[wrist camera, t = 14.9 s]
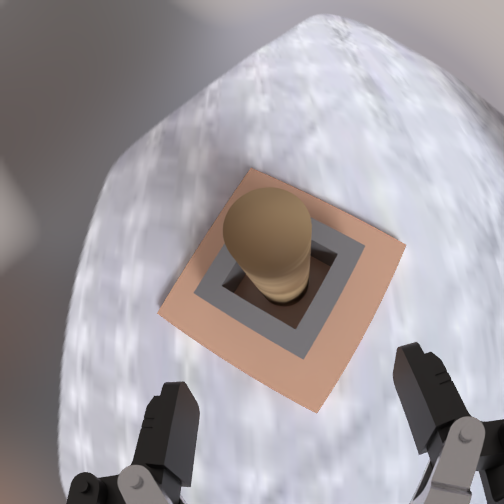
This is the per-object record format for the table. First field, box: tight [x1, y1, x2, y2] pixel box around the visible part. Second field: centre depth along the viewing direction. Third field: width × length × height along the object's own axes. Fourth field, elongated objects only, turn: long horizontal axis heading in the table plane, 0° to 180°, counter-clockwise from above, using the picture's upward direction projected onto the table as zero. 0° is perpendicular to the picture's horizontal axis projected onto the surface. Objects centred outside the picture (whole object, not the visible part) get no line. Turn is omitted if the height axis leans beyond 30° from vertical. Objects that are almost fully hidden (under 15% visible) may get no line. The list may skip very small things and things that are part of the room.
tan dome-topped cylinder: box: [223, 187, 312, 306], centre depth 19 cm, size 4×4×12 cm
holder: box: [157, 168, 406, 413], centre depth 24 cm, size 16×16×5 cm
